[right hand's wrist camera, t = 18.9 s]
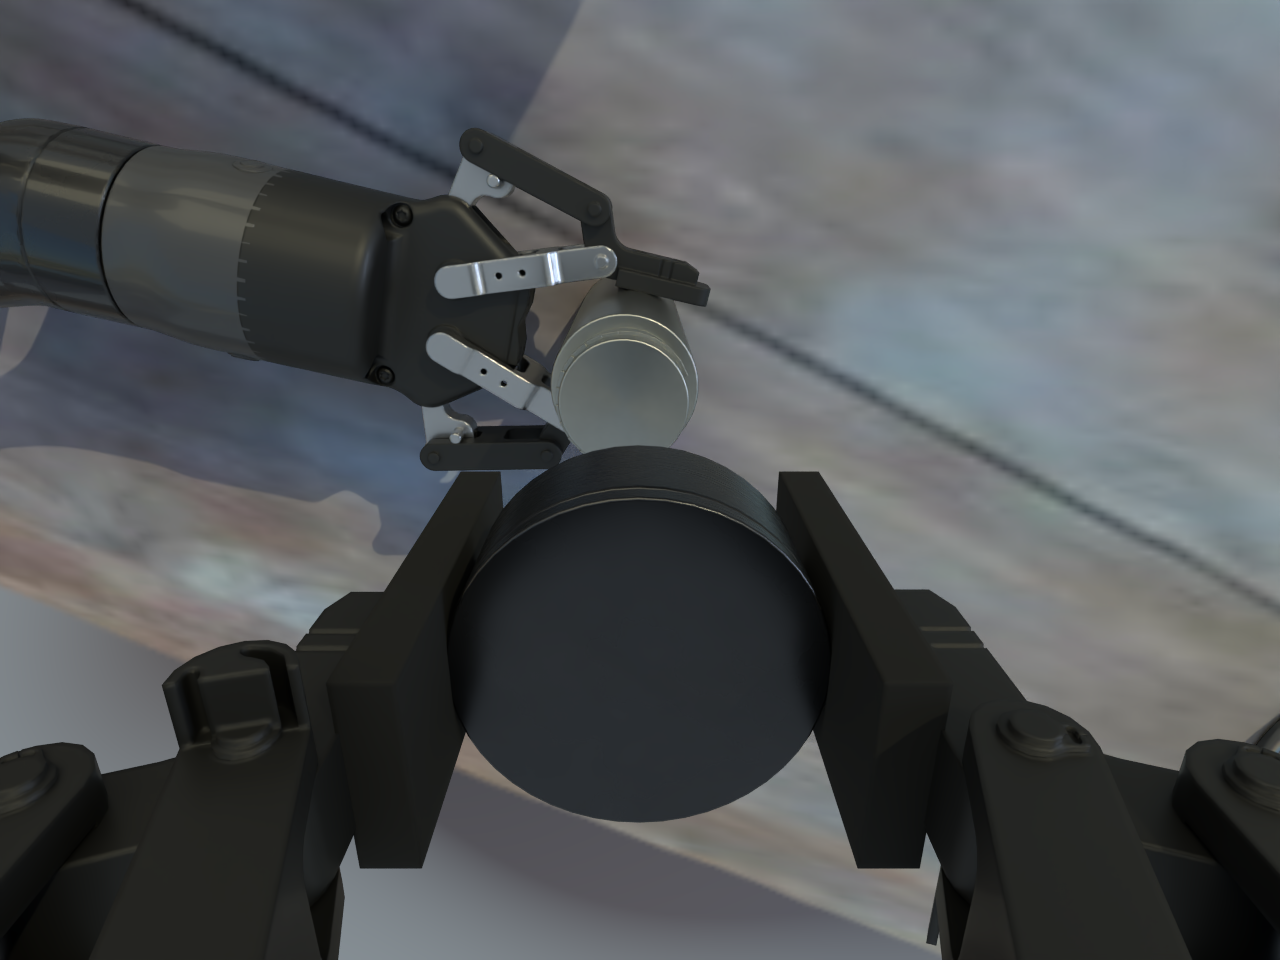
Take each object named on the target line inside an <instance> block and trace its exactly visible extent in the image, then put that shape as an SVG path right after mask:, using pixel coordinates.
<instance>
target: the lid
mask: <svg viewBox="0 0 1280 960" xmlns="http://www.w3.org/2000/svg"><path fill="white" fill-rule="evenodd" d="M447 656H448V665H449V674H450V683H451V692H452V700H453V704H454V707H455V710H456V713H457V715H458V718H459V720H460V722H461V724H462V725H463V727H464V729H465V731H466V733H467V735H468V736H469V738H470V739H471V741H472V742H473V743H474V745H475V746H476V748H477V749H478V750H479V752H480V753H481V754H482V755H483V756H484V757H485V758H486V759H487V761H488V762H489V763H490V764H491V765H492V766H493V767H494V768H495V769H496V770H497V771H499V772H500V773H501V774H502V775H503V776H505V777H506V778H507V779H508V780H509V781H511V782H512V783H513V784H515V785H516V786H518V787H520V788H521V789H523V790H524V791H526V792H527V793H529V794H530V795H532V796H534V797H536V798H538V799H540V800H542V801H544V802H546V803H548V804H550V805H553V806H556V807H558V808H561V809H564V810H567V811H569V812H572V813H576V814H580V815H584V816H588V817H592V818H597V819H604V820H610V821H618V822H658V821H667V820H674V819H680V818H686V817H690V816H694V815H697V814H701V813H705V812H708V811H711V810H714V809H716V808H719V807H721V806H724V805H727V804H729V803H731V802H733V801H735V800H737V799H739V798H741V797H743V796H745V795H747V794H749V793H750V792H752V791H753V790H755V789H756V788H758V787H759V786H761V785H762V784H764V783H765V782H767V781H768V780H769V779H770V778H772V777H773V776H774V775H775V774H776V773H778V772H779V771H780V770H781V769H782V768H784V766H785V765H786V764H787V763H788V762H789V761H790V760H791V759H792V758H793V757H794V756H795V755H796V753H797V752H798V751H799V750H800V748H801V747H802V746H803V744H804V743H805V741H806V740H807V738H808V737H809V736H810V734H811V732H812V730H813V728H814V727H815V725H816V723H817V721H818V719H819V717H820V715H821V712H822V709H823V706H824V703H825V700H826V697H827V692H828V684H829V676H830V666H831V656H832V648H831V640H830V632H829V628H828V624H827V621H826V617H825V614H824V611H823V608H822V606H821V603H820V601H819V599H818V597H817V594H816V592H815V590H814V588H813V586H812V583H811V581H810V579H809V577H808V574H807V572H806V570H805V568H804V565H803V563H802V561H801V559H800V556H799V554H798V552H797V550H796V547H795V545H794V543H793V541H792V539H791V536H790V534H789V532H788V530H787V528H786V526H785V524H784V522H783V521H782V519H781V518H780V516H779V515H778V513H777V512H776V510H775V509H774V508H773V506H772V505H771V504H770V503H769V502H768V501H767V500H766V499H765V497H764V496H763V495H762V494H761V493H760V492H759V491H758V490H757V489H755V488H754V487H753V486H752V485H751V484H749V483H748V482H747V481H746V480H745V479H744V478H742V477H740V476H739V475H737V474H736V473H734V472H733V471H731V470H729V469H728V468H726V467H724V466H722V465H720V464H718V463H716V462H714V461H712V460H709V459H707V458H705V457H702V456H699V455H696V454H693V453H689V452H686V451H683V450H677V449H672V448H667V447H661V446H644V445H633V446H618V447H611V448H606V449H601V450H595V451H591V452H588V453H585V454H582V455H579V456H576V457H573V458H570V459H568V460H566V461H564V462H562V463H560V464H558V465H556V466H554V467H551V468H550V469H548V470H547V471H545V472H544V473H542V474H541V475H539V476H537V477H536V478H534V479H533V480H532V481H531V482H529V483H528V484H527V485H526V486H525V487H524V488H522V489H521V490H520V491H519V492H518V493H517V494H516V495H515V496H514V497H513V498H512V499H511V500H510V502H509V503H508V504H507V505H506V506H505V507H504V508H503V510H502V511H501V513H500V514H499V516H498V517H497V519H496V521H495V522H494V524H493V525H492V527H491V529H490V531H489V533H488V536H487V538H486V540H485V542H484V544H483V547H482V549H481V551H480V554H479V556H478V558H477V560H476V563H475V565H474V567H473V569H472V572H471V574H470V576H469V579H468V581H467V583H466V585H465V588H464V590H463V592H462V595H461V597H460V599H459V601H458V604H457V606H456V608H455V610H454V614H453V617H452V621H451V624H450V628H449V631H448V639H447Z"/></svg>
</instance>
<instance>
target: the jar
mask: <svg viewBox="0 0 1280 960" xmlns="http://www.w3.org/2000/svg"><path fill="white" fill-rule="evenodd" d="M615 284H616V280H612V279H608V278H602V279H601V280H600V281H598V282H597V283H596V284H595V285H594V286H593V287H592V288H591V289H590V291H589V292H588V293H587V295H586V297H585V299H584V301H583V303H582V305H581V307H580V309H579V311H578V313H577V315H576V317H575V319H574V322H573V324H572V326H571V328H570V330H569V332H568V334H567V336H566V338H565V340H564V342H563V344H562V346H561V348H560V350H559V352H558V355H557V357H556V360H555V362H554V365H553V369H552V374H551V395H552V401H553V405H554V408H555V411H556V413H557V415H558V418H559V421H560V425H561V427H562V428H563V430H564V432H565V434H566V435H567V437H568V439H569V440H570V441H571V442H572V443H573V444H574V445H575V446H576V447H577V448H578V449H579V450H580V452H581V453H583V454H585V453H588V452H591V451H595V450H601V449H606V448H611V447H618V446H633V445H644V446H661V447H667V448H669V447H670V446H671V445H672V444H673V443H674V442H675V441H676V439H677V438H678V437H679V435H680V433H681V432H682V430H683V429H684V428H685V427H686V425H687V423H688V422H689V420H690V418H691V416H692V414H693V412H694V409H695V405H696V402H697V396H698V375H697V370H696V366H695V363H694V360H693V357H692V354H691V351H690V348H689V345H688V342H687V339H686V336H685V333H684V330H683V327H682V324H681V321H680V318H679V315H678V312H677V309H676V306H675V303H674V301H673V300H672V299H667V298H663V297H659V296H655V295H650V294H646V293H643V292H639V291H633V290H629V289H625V288H620V287H616V286H615Z"/></svg>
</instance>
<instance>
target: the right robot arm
mask: <svg viewBox="0 0 1280 960" xmlns="http://www.w3.org/2000/svg"><path fill="white" fill-rule="evenodd" d="M502 510H503V500H502V486H501V473H500V472H460V474H459V475H458V477H457V479H456V480H455V482H454V483H453V485H452V486H451V488H450V490H449V491H448V493H447V494H446V496H445V497H444V499H443V500H442V502H441V504H440V505H439V507H438V508H437V510H436V511H435V513H434V515H433V516H432V518H431V519H430V521H429V522H428V524H427V525H426V527H425V529H424V530H423V532H422V533H421V535H420V536H419V538H418V540H417V541H416V543H415V544H414V546H413V547H412V549H411V550H410V552H409V554H408V555H407V557H406V558H405V560H404V561H403V563H402V565H401V566H400V568H399V569H398V571H397V572H396V574H395V575H394V577H393V579H392V580H391V582H390V583H389V585H388V586H387V588H386V590H385V591H384V592H350V593H349V594H347V595H346V596H344V597H343V598H341V599H340V600H338V601H337V602H335V603H333V604H332V605H330V606H329V607H327V608H326V609H324V611H323V612H322V613H321V615H320V616H319V617H318V619H317V620H316V621H315V623H314V624H313V625H312V627H311V628H310V629H309V634H306V635H305V636H304V637H303V639H302V640H301V641H300V643H299V644H298V645H297V649H296V651H294V650H293V649H292V648H290V647H289V646H288V645H287V644H283V643H279V642H274V641H270V640H259V641H243V642H238V643H234V644H230V645H225V646H221V647H218V648H215V649H213V650H210V651H208V652H206V653H203V654H201V655H198V656H196V657H194V658H192V659H191V660H189V661H188V662H186V663H185V664H183V665H182V666H180V667H179V668H177V669H176V670H174V671H173V673H172V674H171V675H170V676H169V677H168V678H167V680H166V681H165V682H164V683H163V684H162V688H163V691H164V695H165V698H166V702H167V705H168V709H169V713H170V716H171V720H172V723H173V727H174V730H175V734H176V737H177V741H178V745H179V748H180V749H179V751H178V754H177V756H176V757H175V758H172V759H168V760H165V761H161V762H157V763H152V764H147V765H143V766H138V767H133V768H129V769H124V770H120V771H115V772H110V773H106V774H101V773H100V770H99V767H98V764H97V761H96V758H95V755H94V753H93V752H91V751H90V750H89V749H87V748H86V747H85V746H83V745H79V744H72V743H64V742H61V743H54V744H46V745H39V746H34V747H30V748H26V749H22V750H21V751H16V752H13V753H11V754H8V755H5V756H3V757H1V758H0V960H338V955H339V946H340V937H341V927H342V918H343V908H344V899H345V896H344V890H343V883H342V878H341V873H340V864H341V862H342V860H343V858H344V855H345V853H346V851H347V849H348V846H349V844H350V842H351V839H352V837H353V835H354V839H355V844H356V850H357V855H358V860H359V866H360V868H422V866H423V863H424V860H425V857H426V854H427V851H428V847H429V844H430V841H431V838H432V835H433V832H434V829H435V826H436V823H437V820H438V816H439V813H440V810H441V807H442V804H443V801H444V798H445V795H446V792H447V789H448V785H449V782H450V779H451V776H452V773H453V770H454V767H455V764H456V761H457V758H458V754H459V751H460V748H461V745H462V742H463V739H464V736H465V733H466V731H465V729H464V727H463V725H462V724H461V722H460V720H459V718H458V715H457V713H456V710H455V707H454V704H453V700H452V692H451V683H450V674H449V665H448V656H447V639H448V631H449V628H450V624H451V621H452V617H453V614H454V610H455V608H456V606H457V604H458V601H459V599H460V597H461V595H462V592H463V590H464V588H465V585H466V583H467V581H468V579H469V576H470V574H471V572H472V569H473V567H474V565H475V563H476V560H477V558H478V556H479V554H480V551H481V549H482V547H483V544H484V542H485V540H486V538H487V536H488V533H489V531H490V529H491V527H492V525H493V524H494V522H495V521H496V519H497V517H498V516H499V514H500V513H501V511H502ZM776 512H777V513H778V515H779V516H780V518H781V519H782V521H783V522H784V524H785V526H786V528H787V530H788V532H789V534H790V536H791V539H792V541H793V543H794V545H795V547H796V550H797V552H798V554H799V556H800V559H801V561H802V563H803V565H804V568H805V570H806V572H807V574H808V577H809V579H810V581H811V583H812V586H813V588H814V590H815V592H816V594H817V597H818V599H819V601H820V603H821V606H822V608H823V611H824V614H825V617H826V621H827V624H828V628H829V632H830V640H831V648H832V656H831V666H830V676H829V684H828V692H827V697H826V700H825V703H824V706H823V709H822V712H821V715H820V717H819V719H818V721H817V723H816V725H815V727H814V728H813V731H814V734H815V737H816V740H817V743H818V746H819V750H820V753H821V756H822V759H823V762H824V765H825V768H826V771H827V774H828V778H829V781H830V784H831V787H832V790H833V793H834V796H835V799H836V802H837V805H838V809H839V812H840V815H841V818H842V821H843V824H844V827H845V830H846V833H847V837H848V840H849V843H850V846H851V849H852V852H853V855H854V858H855V861H856V864H857V868H920V864H921V858H922V853H923V847H924V842H925V836H926V832H927V835H928V837H929V839H930V841H931V844H932V846H933V848H934V850H935V853H936V855H937V857H938V859H939V862H940V864H941V867H940V872H939V877H938V883H937V888H936V893H935V898H934V903H933V908H932V913H931V918H930V923H929V928H928V935H927V942H926V943H928V944H932V945H936V944H937V939H938V934H939V935H940V944H941V953H942V960H1280V720H1279V721H1278V722H1277V723H1276V724H1275V725H1273V726H1272V728H1271V729H1270V730H1269V731H1268V732H1267V733H1266V734H1265V735H1264V736H1263V737H1262V739H1261V740H1260V741H1259V742H1258V744H1257V745H1252V744H1248V743H1244V742H1237V741H1230V740H1222V739H1214V740H1206V741H1199V742H1197V743H1195V744H1194V745H1193V746H1191V747H1190V748H1189V749H1187V750H1186V753H1185V756H1184V759H1183V762H1182V765H1181V768H1180V771H1176V770H1171V769H1166V768H1162V767H1157V766H1152V765H1147V764H1143V763H1138V762H1133V761H1129V760H1124V759H1120V758H1116V757H1112V756H1109V755H1105V754H1103V752H1102V750H1101V748H1100V746H1099V745H1098V744H1097V742H1096V741H1095V739H1094V738H1093V737H1092V735H1091V734H1090V732H1089V731H1087V730H1086V729H1085V728H1083V727H1082V726H1081V725H1079V724H1078V723H1077V722H1076V721H1074V720H1073V719H1072V718H1070V717H1068V716H1066V715H1064V714H1062V713H1060V712H1058V711H1056V710H1054V709H1051V708H1049V707H1047V706H1044V705H1040V704H1036V703H1032V702H1029V701H1027V700H1026V699H1025V698H1024V696H1023V695H1022V694H1021V693H1020V691H1019V690H1018V689H1017V687H1016V686H1015V685H1014V683H1013V682H1012V681H1011V679H1010V678H1009V677H1008V675H1007V674H1006V673H1005V672H1004V670H1003V669H1002V668H1001V666H1000V665H999V664H998V662H997V661H996V660H995V658H994V657H993V656H992V654H991V653H990V652H989V650H988V649H987V648H984V646H983V643H982V641H981V640H980V639H979V637H978V636H977V635H976V633H975V632H974V631H971V627H970V626H969V624H968V623H967V622H966V620H965V619H964V618H963V616H962V615H961V614H960V612H959V611H958V610H957V608H956V607H955V606H953V605H952V604H950V603H949V602H947V601H946V600H944V599H942V598H941V597H939V596H938V595H936V594H935V593H933V592H932V591H930V590H894V589H893V587H892V586H891V584H890V583H889V581H888V579H887V578H886V576H885V575H884V573H883V572H882V570H881V568H880V567H879V565H878V564H877V562H876V561H875V559H874V558H873V556H872V554H871V553H870V551H869V550H868V548H867V547H866V545H865V543H864V542H863V540H862V539H861V537H860V536H859V534H858V532H857V531H856V529H855V528H854V526H853V525H852V523H851V522H850V520H849V518H848V517H847V515H846V514H845V512H844V511H843V509H842V507H841V506H840V504H839V503H838V501H837V500H836V498H835V497H834V495H833V493H832V492H831V490H830V489H829V487H828V486H827V484H826V482H825V481H824V479H823V478H822V476H821V475H820V473H819V472H779V480H778V494H777V507H776Z"/></svg>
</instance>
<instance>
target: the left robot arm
mask: <svg viewBox="0 0 1280 960" xmlns="http://www.w3.org/2000/svg"><path fill="white" fill-rule="evenodd" d="M459 146H460V151H461V154H462V155H463V158H462V160H461V163H460V166H459V168H458V171H457V173H456V176H455V179H454V181H453V184H452V186H451V189H450V192H449V194H448V195H440V196H437V197H434V198H431V199H427V200H417V199H412V198H407V197H403V196H399V195H395V194H391V193H386V192H382V191H378V190H374V189H370V188H366V187H361V186H357V185H353V184H349V183H345V182H340V181H336V180H332V179H328V178H324V177H320V176H316V175H312V174H307V173H303V172H299V171H295V170H290V169H286V168H282V167H278V166H274V165H269V164H266V163H263V162H260V161H256V160H249V159H245V158H241V157H237V156H231V155H226V154H221V153H214V152H206V151H195V150H184V149H176V148H171V147H166V146H160V145H157V144H153V143H149V142H145V141H141V140H136V139H132V138H128V137H124V136H120V135H116V134H111V133H107V132H103V131H99V130H95V129H89V128H86V127H81V126H77V125H72V124H67V123H62V122H57V121H51V120H44V119H35V118H23V119H15V120H9V121H4V122H0V308H4V307H18V306H49V307H53V308H57V309H61V310H66V311H70V312H74V313H78V314H82V315H87V316H92V317H96V318H101V319H105V320H110V321H114V322H119V323H124V324H128V325H133V326H137V327H142V328H147V329H150V330H154V331H157V332H160V333H163V334H166V335H169V336H172V337H174V338H177V339H180V340H182V341H185V342H188V343H191V344H194V345H198V346H202V347H206V348H210V349H213V350H218V351H222V352H227V353H228V354H231V356H233V357H237V358H241V359H246V360H252V361H259V360H263V361H268V362H273V363H277V364H282V365H286V366H291V367H296V368H300V369H305V370H310V371H314V372H319V373H323V374H328V375H332V376H337V377H341V378H346V379H351V380H355V381H360V382H364V383H369V384H374V385H380V386H386V387H390V388H393V389H395V390H397V391H399V392H401V393H402V394H404V395H405V396H406V397H408V398H409V399H410V400H411V401H413V402H414V403H416V404H418V405H420V406H422V413H423V421H424V429H425V437H426V444H425V446H424V447H423V449H422V450H421V452H420V460H421V462H422V464H423V465H424V466H425V467H426V468H427V469H429V470H433V471H454V470H513V469H550V468H551V467H554V466H556V465H558V464H559V462H560V460H561V457H562V454H563V453H564V451H565V450H566V448H567V447H568V445H569V443H570V442H571V441H570V440H569V439H568V437H567V435H566V434H565V432H564V430H563V428H562V427H561V425H560V421H559V418H558V415H557V413H556V411H555V408H554V405H553V401H552V395H551V374H550V373H549V372H548V371H547V370H546V368H545V367H543V366H542V365H541V364H539V363H538V362H536V361H535V360H533V359H531V358H530V357H528V356H526V355H525V354H524V351H525V345H526V339H527V336H526V325H525V318H526V316H527V314H528V312H529V309H530V307H531V305H532V303H533V299H534V294H535V288H538V287H546V286H552V285H557V284H561V283H567V282H575V281H583V280H592V279H600V278H608V279H612V280H616V284H615V286H616V287H620V288H625V289H629V290H633V291H639V292H643V293H646V294H650V295H655V296H659V297H663V298H667V299H672V300H676V301H680V302H684V303H689V304H693V305H697V306H704V307H705V306H706V305H707V301H708V297H709V293H710V288H709V286H708V285H706V284H704V283H700V282H697V280H698V276H699V272H698V271H697V269H695V268H694V267H693V266H691V265H690V264H688V263H687V262H685V261H681V260H677V259H672V258H669V257H664V256H660V255H656V254H652V253H648V252H644V251H639V250H635V249H631V248H628V247H626V246H624V245H623V244H622V243H620V241H619V240H618V238H617V236H616V233H615V227H614V220H613V212H612V203H611V201H610V199H609V198H608V196H606V195H605V194H603V193H602V192H600V191H598V190H596V189H594V188H592V187H590V186H589V185H587V184H585V183H583V182H581V181H579V180H577V179H576V178H574V177H572V176H570V175H568V174H566V173H565V172H563V171H561V170H559V169H557V168H555V167H553V166H552V165H550V164H548V163H546V162H544V161H542V160H540V159H539V158H537V157H535V156H533V155H531V154H529V153H527V152H526V151H524V150H522V149H520V148H518V147H516V146H514V145H513V144H511V143H509V142H507V141H505V140H503V139H502V138H500V137H498V136H496V135H494V134H492V133H489V132H487V131H484V130H481V129H478V128H471V129H468V130H466V131H465V132H464V133H463V134H462V136H461V138H460V143H459ZM515 187H517V188H519V189H521V190H523V191H525V192H527V193H529V194H531V195H532V196H534V197H536V198H538V199H540V200H542V201H544V202H546V203H548V204H549V205H551V206H553V207H555V208H557V209H559V210H561V211H563V212H564V213H566V214H568V215H570V216H572V217H574V218H576V219H578V220H580V221H581V227H582V233H583V240H584V244H579V245H571V246H563V247H550V248H542V249H534V250H526V251H518V252H517V251H516V250H515V249H514V248H513V247H512V246H511V245H510V243H509V242H508V241H507V240H506V239H505V238H504V237H503V236H502V235H501V233H500V232H499V231H498V230H497V229H496V228H495V227H494V226H493V224H492V223H491V222H490V221H489V220H488V219H487V218H486V217H485V215H484V214H483V213H482V212H481V211H480V210H479V209H478V208H477V207H476V203H477V201H478V200H479V199H480V198H482V197H484V196H490V197H493V198H505V197H508V196H510V195H511V194H512V193H513V192H514V190H515ZM516 366H518V368H516ZM503 381H506V383H507V384H505V383H503ZM482 388H484V389H486V390H487V391H489V392H491V393H492V394H494V395H496V396H497V397H499V398H501V399H502V400H504V401H506V402H507V403H509V404H511V405H512V406H514V407H516V408H518V409H521V410H527V411H530V412H531V413H533V414H535V415H536V416H538V417H540V418H541V419H543V420H545V421H546V422H547V423H546V425H529V426H477V423H476V421H475V420H474V419H473V418H472V417H471V416H469V415H466V414H460V413H457V412H455V411H454V410H453V409H452V408H451V407H450V405H449V403H450V402H452V401H454V400H457V399H459V398H461V397H464V396H466V395H468V394H471V393H473V392H475V391H478V390H480V389H482Z"/></svg>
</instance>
